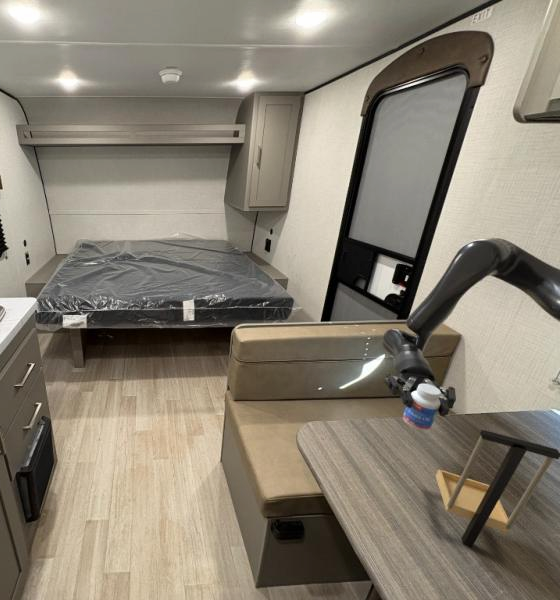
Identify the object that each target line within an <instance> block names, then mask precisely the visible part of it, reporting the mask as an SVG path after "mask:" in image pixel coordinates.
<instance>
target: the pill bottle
mask: <svg viewBox="0 0 560 600" xmlns="http://www.w3.org/2000/svg"><path fill="white" fill-rule="evenodd" d="M440 394H442V393H441V392H440V390H439V389H438V388H436V387H434V386H432V385H429V384H419V385H418V388H417V391H413V392H412V393H411V396H412V399H413V404H412V406H411V408H408V407H406V406H405V408H404V411H403V414H402V419H403V421H404V422H405V423H406V424H408V425H409V426H411V427H412V428H414V429H417V430H420V431H421V430H422V431H428V430H430V429H431V428H432V426H433V423H434V421H435V419H436V416H437V414H438V413H439V412H438V410H439V407H440V400H439V397H440Z"/></svg>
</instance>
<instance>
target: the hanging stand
mask: <svg viewBox="0 0 560 600" xmlns="http://www.w3.org/2000/svg"><path fill="white" fill-rule="evenodd" d="M479 435H480V436H479V438H478V440H477V442H476V444H475V446H474V449H473V451H472V452H471V454H470V457H469V459H468V461H467V462H466V465H465V467H464V469H463V471H462V473H461V475H458V474H456V473H452V472H449V471H445V470H443V469H439V468H438V470H437V472H436V474H435V479H436V482H437V485H438V488H439V492H440V495H441V498H442V501H443V504H444V508H445V511H446V512H448V513H451V514H453V515H456V516H460V517H462V518H465V519H467V520H470V521H469V523H468V524H467V527H466V529H465V530H464V533H463V534H462V536H461V541H462V545H464V546H467V547H469V548H473V546H474V544H475V543H476V541H477V539H478V537H479V536H480V534H481V532H482V530H483V528H484V527H485V526H487V527H488V528H489V527H490V528H491V529H496V530H498V531H501V532H502V533H506V534H507V533H509V532H508V531H510V530H511V529H512V528H513V526H514V524H515V522H516V521H517V519H518V517H519V516H520V514H521V512H522V511H523V509H524V508H525V506H526V504H527V503H528V501H529V499H530V498H531V496H532V495H533V493H534V492H535V490H536V488H537V487H538V485H539V484H540V482H541V480H542V479H543V477H544V475H545V474H546V472H547V470H549V467H550V466H551V464H552V463H553V460H554V459H555V460H559V459H560V451H559V450H558V449H557V448H554V447H551V446H546V445H543V444H539V443H535V442H531V441H527V440H524V439H519V438H516V437H513V436H508V435H505V434H501V433H497V432H493V431H489V430H485V429H481V431H480V432H479ZM486 441H488V442H493V443H497V444H500V445H503V446H507V447H509V449H508V451H507V453H506V454H505V456H504V458H503V460H502V462H501V463H500V466H499V467H498V470H497V471H496V473H495V475H494V477H493V479H492V481H491V483H490V484H486V483H483V482H481V481H477V480H474V479H471V478H468V477H469V475H470V473H471V470H472V468H473V466H474V464H475V462H476V461H477V458H478V456H479V454H480V452H481V450H482V448H483V446H484V444H485V442H486ZM527 452H529V453H532V454H536V455H541V456H544V457H545V458H544V459H543V461H542V463H541V465H540V466H539V468H538V469H537V471H536V472H535V474H534V475H533V478H532V479H531V481H530V483H529V485H528V486H527V488H526V489H525V491H524V493H523V494H522V496H521V498H519V499H520V500H519V501H518V502H517V504H516V505H515V507H514V509H513V510H512V512H511V514H510V516H509V517H508V515H507V513H506V511H505V509H504V506H503V505H502V502H501V501H500V499H501V497H502V495H503V493H504V491H505V489H506V488H507V486H508V484H509V483H510V481H511V480H512V477H513V475H514V474H515V472H516V470H517V468H518V466H519V465H520V463H521V461H522V460H523V458H524V456H525V454H526V453H527Z"/></svg>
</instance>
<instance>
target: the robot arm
mask: <svg viewBox="0 0 560 600" xmlns="http://www.w3.org/2000/svg"><path fill="white" fill-rule="evenodd" d="M490 276H491V277H494V278H496V279H498V280H501V281H503V282H505V283H506V284H508V285H511V286H513V287H515V288H516V289H518V290H520V291H521V292H523V293H525V294H526V295H527V296H528V297H529V298H530V299H531V300H533V301H534V302H535V304H536V305H538V306H539V308H541V309H542V310H543V311H544V312H545V313H546V314H548V316H550V317H552V319H554V320H556V321H557V322H559V323H560V268H558V267H555V266H554V265H551V264H549V263H547V262H546V261H544V260H541V259H540V258H539V257H537V256H535V255H533V254H531V253H530V252H529V251H526V250H525V249H523V248H522V247H520V246H518V245H516V244H515V243H513V242H511V241H509V240H507V239H504V238H499V237H488V238H487V237H486V238H481V239H480V238H479V239H475V240H471V241H469V242H467V243H465V244H464V245H462V246H461V247H460V248H459V249H458V250H457V252H456V254H455V255H454V257H453V258H452V260H451V261H450V263H449V265H448V267H447V269H446V270H445V272H444V273H443V275H442V276H441V277H440V279H439V281H438V282H437V283H436V284H435V286H434V287H433V289H432V290H431V291H430V292H429V294H427V296H426V297H425V298H424V300H422V302H421V303H419V305H418V306H417V307H416V308H415V309H414V310H413V312H412V313H410V315H409V316H408V317H407V318H406V319H405V325H406V327H407V328H408V329H409V330H410V331H412V333H414V334H412V333H410V332H407V331H406V330H403V329H400V328H397V327H394V328H393V327H392V328H390V329H387V330H386V331H385V332H384V333H383V335H382V339H381V342H382V346H383V349H384V350H385V351H386V353H388V354H389V356H391V357H392V359H393V364H394V365H393V366H394V370H395V374H396V376H394V375H393V374H392V373H390V372H386V375H385V378H384V384H385V385H386V387H387V389H388V390H389V392H390V394H392V395H394V396H397V395H398V396H399V397H400V398H401V401H402V404H403V405H405V408H406V407H408V408H411V406H412V404H413V399H412V396H411V393H412V392H413V391H417V388H418V385H419V384H429V385H432V386H434V387H436V388H438V389H439V390H440V392H441V394H440V397H439V398H438V399H439V400H440V407H439V410H438V412H437V413H438V415H439V416H440V417H444V418H445V417H446V416H448V414H449V413H450V410H452V409H453V408H454V405H455V403H456V401H457V395H456V388H455V387H453V386H448V387H447V388H446V387H443V386H441V385H440V384H439V383H438V382H437V381H436V377H435V375H434V373H433V369H432V368H431V366H430V364H429V362H428V360H427V359H426V357H425V355H424V352H425V349H426V347H427V344H428V343H429V341H430V338H431V337H432V335H433V334H434V332H436V330H438V329H439V327H440V326H441V325H443V324H444V322H446V320H447V319H448V318H449V317H450V316H451V315H452V313H453V312H454V310H455V309H456V307H457V305H458V303H459V301H460V300H461V299H462V298H463V297H464V295H465V294H466V293H467V292H468V291H469V290H471V289H472V288H473V287H474V286H475V285H477V284H478V283H479V282H481V281H482V280H484V279H485V278H486V277H490Z"/></svg>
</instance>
